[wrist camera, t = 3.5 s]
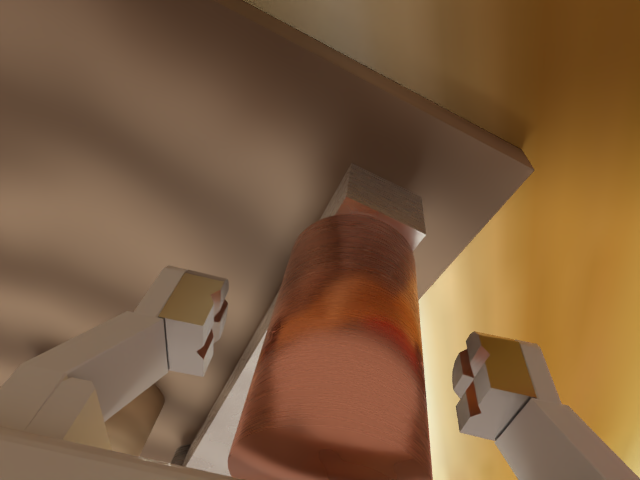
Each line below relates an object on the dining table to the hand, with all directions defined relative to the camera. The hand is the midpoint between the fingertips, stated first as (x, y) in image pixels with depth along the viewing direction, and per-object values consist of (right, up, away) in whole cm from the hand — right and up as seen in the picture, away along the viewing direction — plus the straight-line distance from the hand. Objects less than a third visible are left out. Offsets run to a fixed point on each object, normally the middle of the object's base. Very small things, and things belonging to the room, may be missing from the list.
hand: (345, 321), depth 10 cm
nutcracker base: (-8, -1, +11) cm, 14 cm away
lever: (-4, -5, +9) cm, 11 cm away
